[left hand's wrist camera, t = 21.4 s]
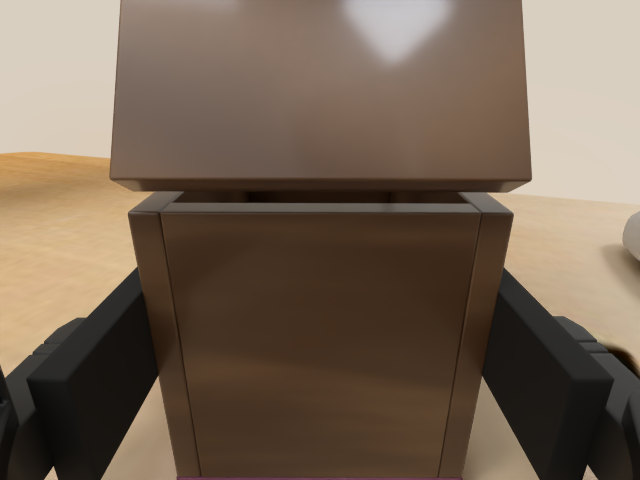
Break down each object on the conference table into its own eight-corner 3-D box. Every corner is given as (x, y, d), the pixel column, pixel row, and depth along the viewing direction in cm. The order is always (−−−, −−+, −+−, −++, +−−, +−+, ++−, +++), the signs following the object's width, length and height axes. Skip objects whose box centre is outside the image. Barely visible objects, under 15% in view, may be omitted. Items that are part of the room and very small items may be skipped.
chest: (245, 295, 25) (232, 132, 21) (394, 295, 25) (407, 133, 21) (179, 494, 13) (124, 212, 10) (459, 495, 13) (516, 213, 10)
